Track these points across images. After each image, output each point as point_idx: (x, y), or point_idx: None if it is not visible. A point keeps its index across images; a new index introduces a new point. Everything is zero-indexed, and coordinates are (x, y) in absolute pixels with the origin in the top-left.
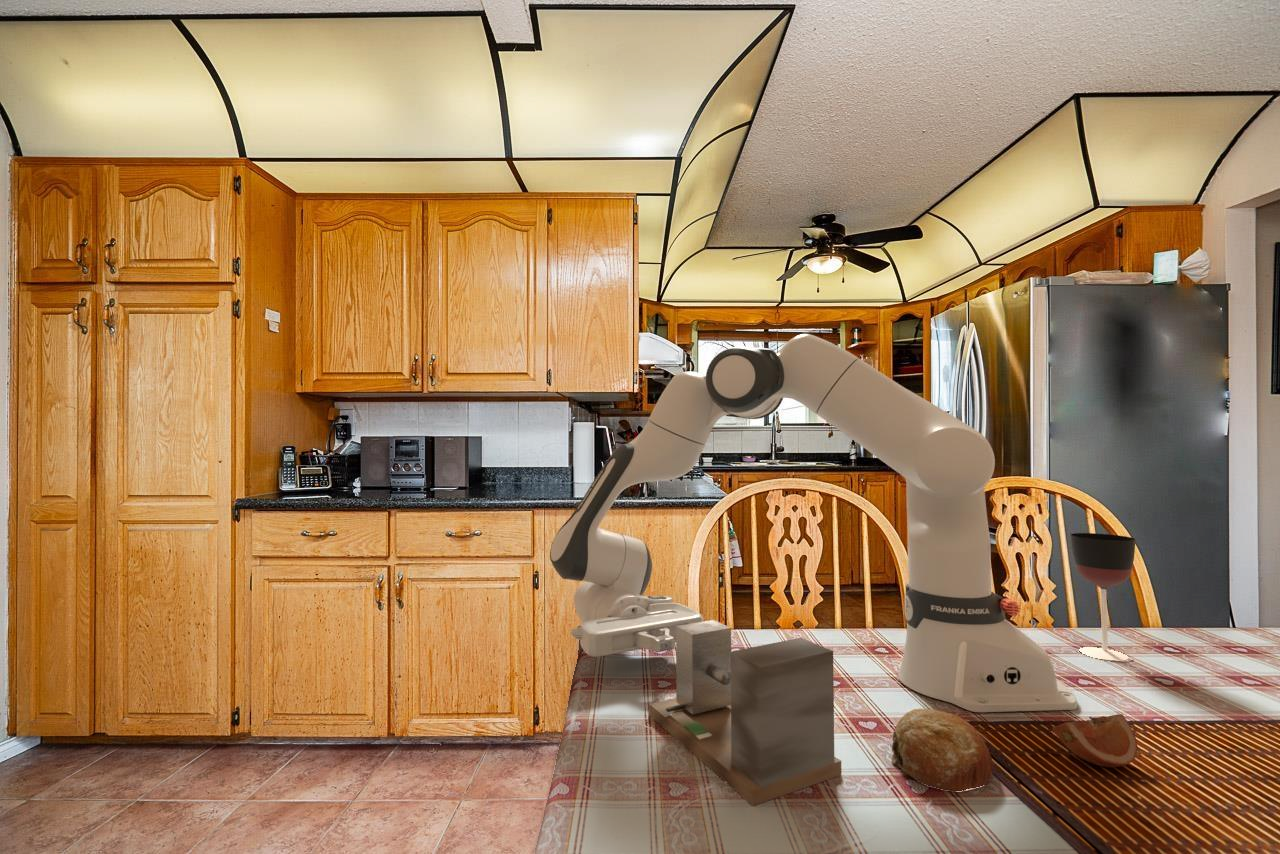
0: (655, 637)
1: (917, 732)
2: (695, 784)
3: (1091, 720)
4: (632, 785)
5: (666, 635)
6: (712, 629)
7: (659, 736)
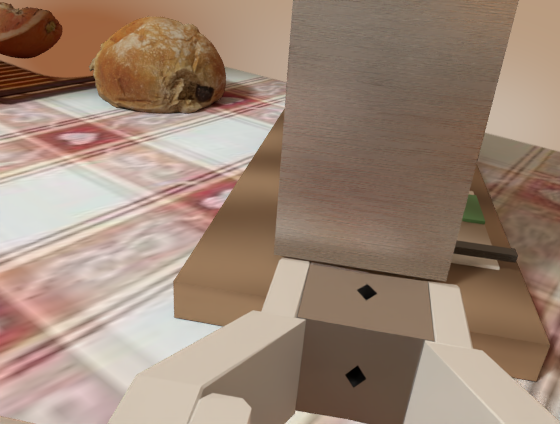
0: (437, 325)
1: (203, 40)
2: (522, 190)
3: (13, 8)
4: None
5: (296, 309)
6: None
7: (540, 291)
